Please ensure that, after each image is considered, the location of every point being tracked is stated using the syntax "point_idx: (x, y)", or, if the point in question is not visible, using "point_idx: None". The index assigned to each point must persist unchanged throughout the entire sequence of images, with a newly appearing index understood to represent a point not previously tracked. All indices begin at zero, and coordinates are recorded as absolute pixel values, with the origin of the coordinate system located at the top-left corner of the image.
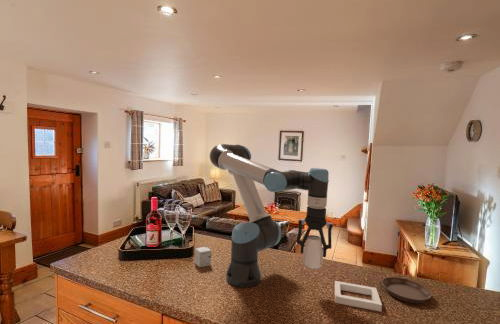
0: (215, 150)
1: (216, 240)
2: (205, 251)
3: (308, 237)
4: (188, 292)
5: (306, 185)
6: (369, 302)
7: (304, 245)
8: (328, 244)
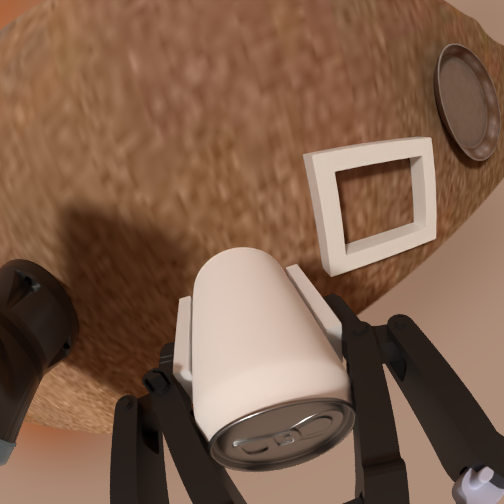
0: None
1: None
2: None
3: (225, 453)
4: (40, 400)
5: None
6: (414, 246)
7: (186, 387)
8: (395, 377)
